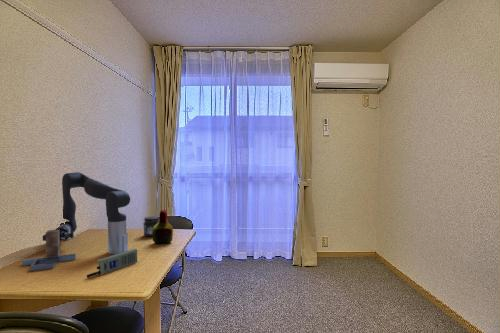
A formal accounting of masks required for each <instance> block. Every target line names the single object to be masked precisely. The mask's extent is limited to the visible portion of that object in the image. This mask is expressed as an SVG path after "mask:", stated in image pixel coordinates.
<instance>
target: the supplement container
mask: <svg viewBox="0 0 500 333" xmlns="http://www.w3.org/2000/svg"><path fill="white" fill-rule="evenodd" d="M143 219H144V220H143V221H144V222H143V236H144V237H145V238H153V236H152V231H153V227H154V226H155V225H156V224H157V223H158V222H159V216H156V215H154V216H146V217H144V218H143Z"/></svg>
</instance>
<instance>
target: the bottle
mask: <svg viewBox="0 0 500 333" xmlns="http://www.w3.org/2000/svg"><path fill="white" fill-rule="evenodd" d="M158 217H159V222H158V223H157V224H156V225H155V226H154V227H153V231H152V236H153V237H152V241H153V243H154V244H156V245H160V244H169V243H172V242H173V239H174V237H173V236H174V228H173V226H172V225H171V224H170V223H169V221H168V211H167V210H166V209H162V210H160V212H159V216H158Z"/></svg>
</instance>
